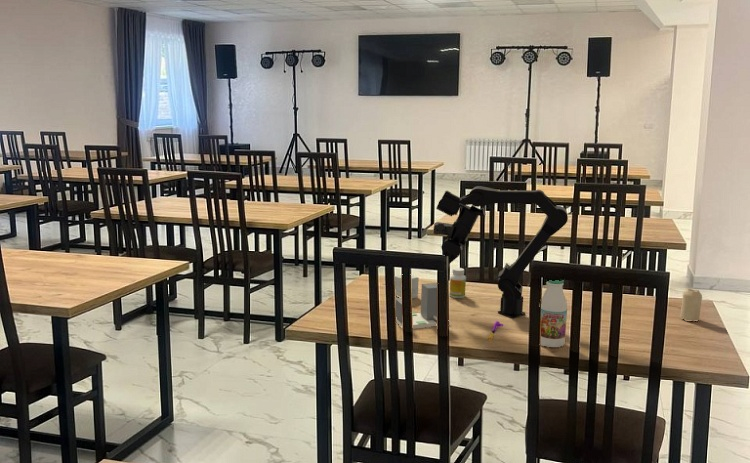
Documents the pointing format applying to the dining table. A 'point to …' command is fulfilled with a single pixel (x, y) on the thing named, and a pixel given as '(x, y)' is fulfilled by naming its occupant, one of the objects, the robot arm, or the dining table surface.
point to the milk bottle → (553, 315)
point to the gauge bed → (417, 317)
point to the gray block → (429, 301)
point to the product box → (414, 286)
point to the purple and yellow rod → (494, 329)
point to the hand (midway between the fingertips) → (443, 265)
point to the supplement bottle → (457, 283)
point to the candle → (691, 305)
